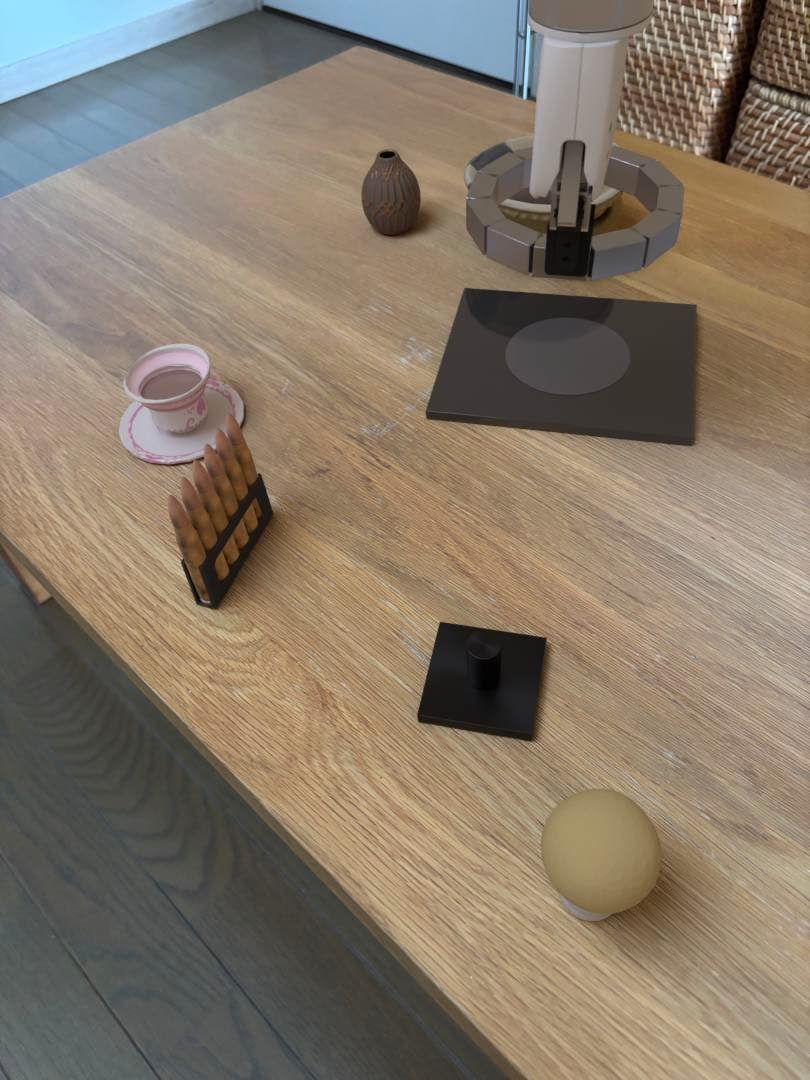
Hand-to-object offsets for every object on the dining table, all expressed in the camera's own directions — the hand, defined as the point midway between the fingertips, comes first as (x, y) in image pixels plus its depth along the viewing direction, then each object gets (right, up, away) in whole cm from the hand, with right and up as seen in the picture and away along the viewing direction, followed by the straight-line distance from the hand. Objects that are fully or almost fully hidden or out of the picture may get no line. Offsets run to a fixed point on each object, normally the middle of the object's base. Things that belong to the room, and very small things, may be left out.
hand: (567, 261), depth 66 cm
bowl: (+3, +12, +33) cm, 35 cm away
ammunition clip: (-26, -23, +6) cm, 35 cm away
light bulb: (-1, -43, -14) cm, 45 cm away
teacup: (-34, -10, +17) cm, 39 cm away
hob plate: (+3, -4, +19) cm, 19 cm away
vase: (-14, +16, +38) cm, 43 cm away
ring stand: (-7, -32, -4) cm, 33 cm away
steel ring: (+1, +5, +5) cm, 8 cm away
